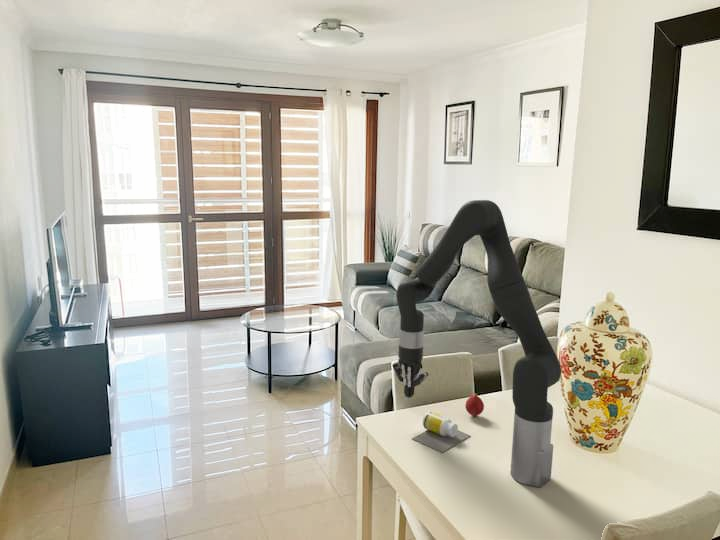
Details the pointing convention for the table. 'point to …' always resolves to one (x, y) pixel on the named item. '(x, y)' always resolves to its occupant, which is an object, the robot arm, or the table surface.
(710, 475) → the table surface
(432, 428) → the supplement bottle
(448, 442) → the mat
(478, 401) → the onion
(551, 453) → the robot arm
